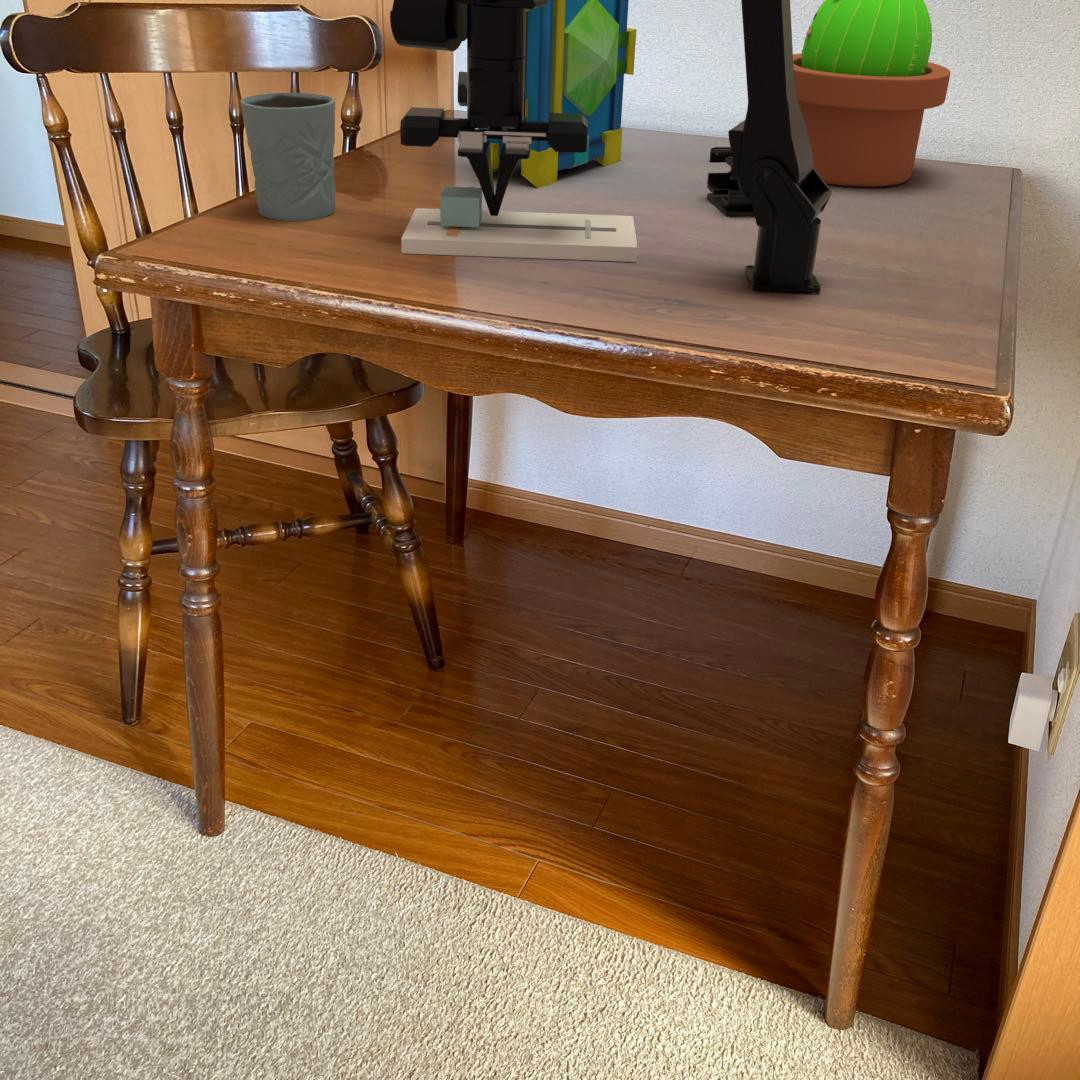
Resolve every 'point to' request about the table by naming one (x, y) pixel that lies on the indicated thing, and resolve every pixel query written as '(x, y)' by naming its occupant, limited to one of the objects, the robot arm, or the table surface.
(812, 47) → the potted cactus
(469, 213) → the fader tab
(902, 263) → the table surface
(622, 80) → the decorative book
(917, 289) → the table surface
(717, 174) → the end cap
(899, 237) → the table surface
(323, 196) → the grey-green plant pot
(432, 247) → the fader panel
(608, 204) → the table surface
